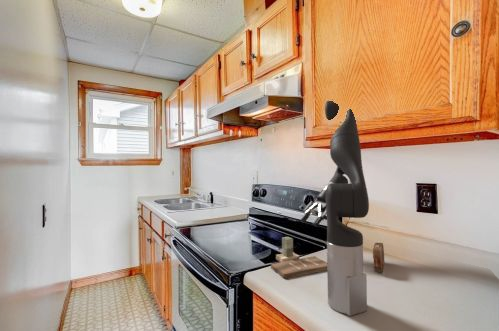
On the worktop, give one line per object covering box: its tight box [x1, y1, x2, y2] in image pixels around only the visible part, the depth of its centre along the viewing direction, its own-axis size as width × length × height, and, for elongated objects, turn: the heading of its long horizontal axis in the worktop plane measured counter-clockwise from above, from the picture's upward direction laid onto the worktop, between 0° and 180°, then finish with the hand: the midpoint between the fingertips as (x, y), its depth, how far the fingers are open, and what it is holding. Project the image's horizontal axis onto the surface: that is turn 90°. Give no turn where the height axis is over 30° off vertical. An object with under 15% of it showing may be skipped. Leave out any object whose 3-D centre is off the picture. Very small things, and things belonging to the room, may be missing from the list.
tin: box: [372, 242, 385, 273], centre depth 95 cm, size 15×3×8 cm, turn 149°
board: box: [270, 256, 327, 280], centre depth 95 cm, size 10×20×2 cm, turn 112°
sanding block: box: [275, 236, 300, 263], centre depth 103 cm, size 5×8×9 cm, turn 112°
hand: (308, 223), depth 107 cm, fingers open, 8 cm apart
